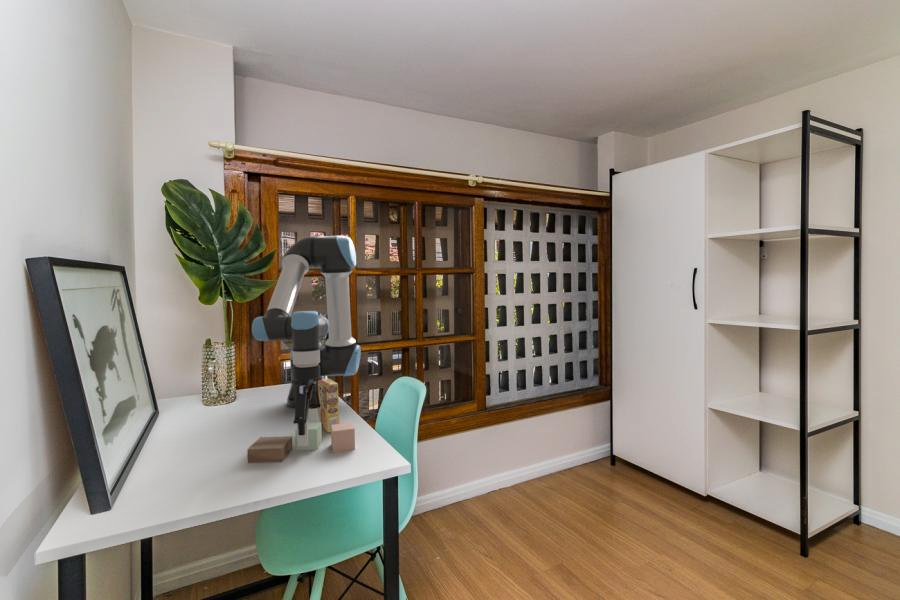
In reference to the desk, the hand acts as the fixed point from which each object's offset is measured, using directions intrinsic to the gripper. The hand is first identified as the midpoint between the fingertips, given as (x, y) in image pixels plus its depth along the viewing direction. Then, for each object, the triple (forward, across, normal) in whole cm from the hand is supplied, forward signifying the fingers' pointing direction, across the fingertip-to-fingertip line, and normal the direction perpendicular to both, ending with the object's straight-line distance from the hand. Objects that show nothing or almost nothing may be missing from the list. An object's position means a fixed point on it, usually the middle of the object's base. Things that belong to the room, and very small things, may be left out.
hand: (308, 437), depth 129 cm
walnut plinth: (+3, +6, -9) cm, 11 cm away
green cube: (+3, 0, 0) cm, 3 cm away
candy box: (+3, -15, +3) cm, 16 cm away
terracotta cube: (+3, +2, +10) cm, 10 cm away
